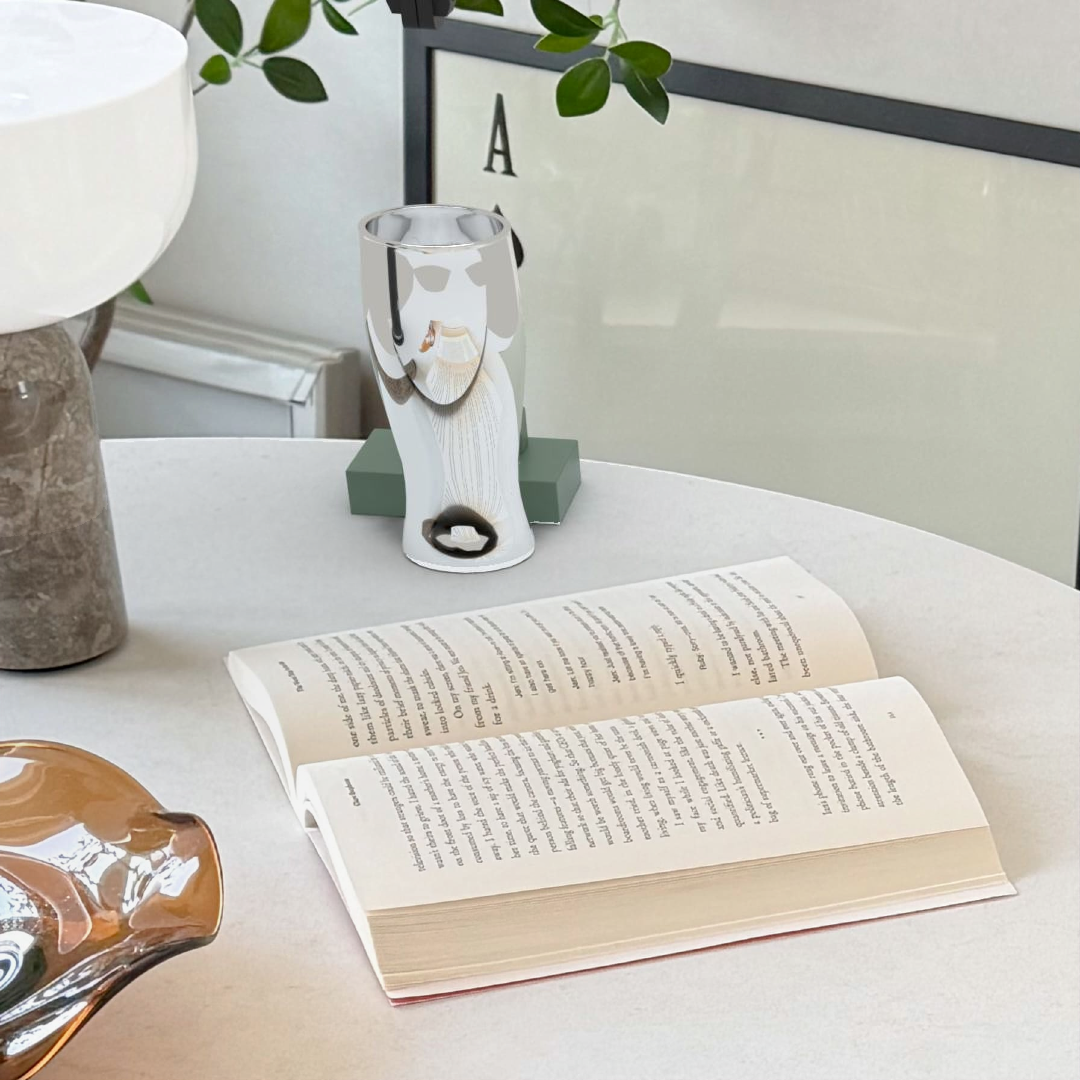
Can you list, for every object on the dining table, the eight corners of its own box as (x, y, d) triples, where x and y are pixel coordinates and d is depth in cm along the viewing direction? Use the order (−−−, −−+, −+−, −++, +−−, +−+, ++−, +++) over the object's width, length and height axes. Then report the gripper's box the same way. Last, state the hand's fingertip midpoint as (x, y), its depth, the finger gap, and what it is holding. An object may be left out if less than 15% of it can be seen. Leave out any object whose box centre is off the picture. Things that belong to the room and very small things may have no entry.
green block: (350, 514, 134) (339, 433, 132) (384, 463, 140) (374, 384, 138) (560, 526, 135) (553, 445, 133) (585, 474, 141) (578, 396, 138)
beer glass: (409, 585, 128) (368, 251, 119) (380, 530, 133) (339, 206, 124) (560, 569, 131) (531, 242, 122) (526, 516, 136) (496, 198, 127)
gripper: (186, -425, 112) (253, 35, 122) (519, -402, 113) (558, 54, 123) (237, -442, 118) (297, -2, 128) (553, -419, 119) (587, 16, 129)
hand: (425, 25), depth 126 cm, fingers closed
